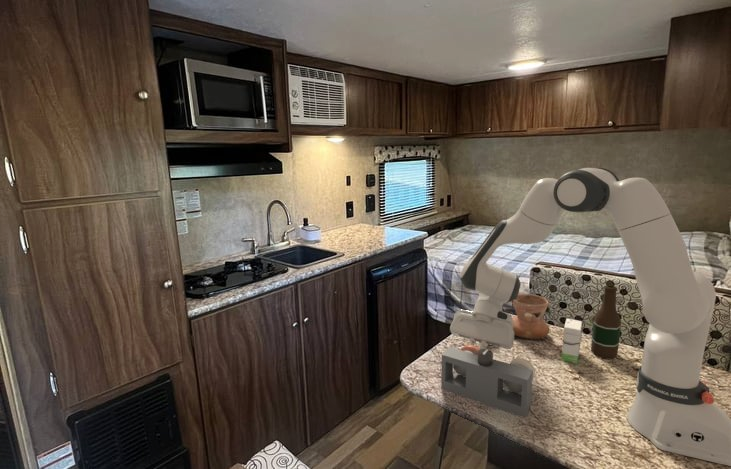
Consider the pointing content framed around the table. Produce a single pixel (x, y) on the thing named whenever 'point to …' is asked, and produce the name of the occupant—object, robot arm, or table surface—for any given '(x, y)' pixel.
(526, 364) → the cream knob
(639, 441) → the table surface
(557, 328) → the table surface
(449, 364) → the mount
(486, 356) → the pot dial
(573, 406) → the table surface
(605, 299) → the beer bottle
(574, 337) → the ink box
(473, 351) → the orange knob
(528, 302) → the ceramic jug
